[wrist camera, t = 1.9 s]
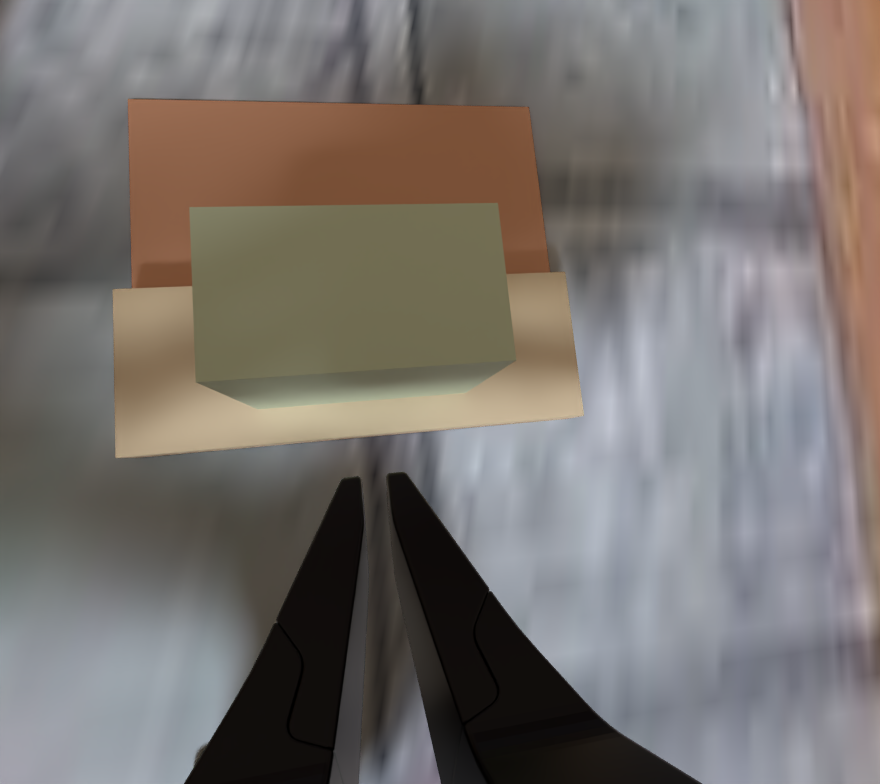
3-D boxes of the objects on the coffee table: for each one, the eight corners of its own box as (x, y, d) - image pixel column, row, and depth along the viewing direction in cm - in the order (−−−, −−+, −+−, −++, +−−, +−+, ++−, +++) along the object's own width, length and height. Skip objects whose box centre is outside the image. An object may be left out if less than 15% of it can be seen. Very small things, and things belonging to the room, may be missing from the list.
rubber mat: (548, 278, 25) (550, 276, 25) (135, 295, 22) (132, 293, 22) (527, 111, 26) (528, 107, 26) (130, 103, 23) (128, 99, 23)
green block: (465, 392, 22) (516, 360, 14) (257, 409, 20) (195, 382, 13) (454, 286, 22) (497, 202, 15) (251, 294, 21) (189, 207, 14)
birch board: (566, 418, 24) (583, 415, 22) (138, 457, 21) (115, 457, 19) (549, 286, 25) (564, 271, 23) (135, 304, 22) (112, 289, 20)
